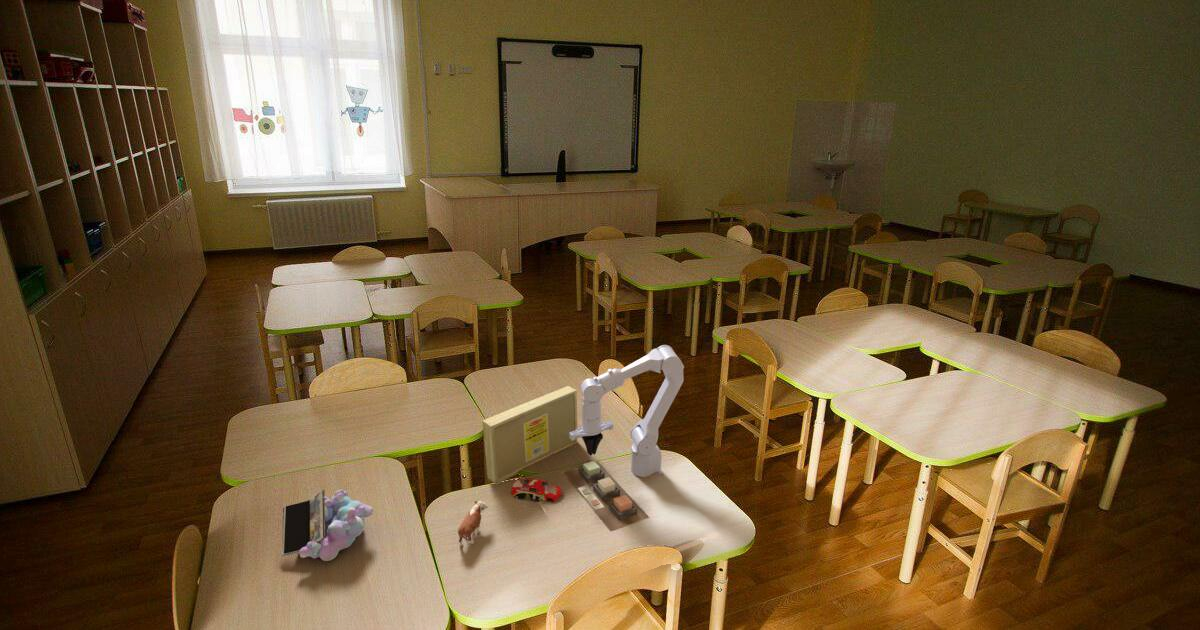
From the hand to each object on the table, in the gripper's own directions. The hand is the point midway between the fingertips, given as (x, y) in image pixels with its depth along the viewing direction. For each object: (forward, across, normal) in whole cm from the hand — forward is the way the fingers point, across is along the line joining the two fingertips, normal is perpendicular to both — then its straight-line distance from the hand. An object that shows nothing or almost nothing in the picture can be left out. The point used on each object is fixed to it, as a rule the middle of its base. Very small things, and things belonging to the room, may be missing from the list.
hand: (591, 453), depth 202 cm
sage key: (+7, 0, 0) cm, 7 cm away
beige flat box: (+10, +12, -18) cm, 24 cm away
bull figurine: (+10, +42, +8) cm, 44 cm away
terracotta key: (+7, 0, +20) cm, 21 cm away
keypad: (+9, +1, +10) cm, 14 cm away
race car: (+10, +19, 0) cm, 21 cm away
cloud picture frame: (+10, +78, -7) cm, 79 cm away
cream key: (+7, 0, +10) cm, 12 cm away
